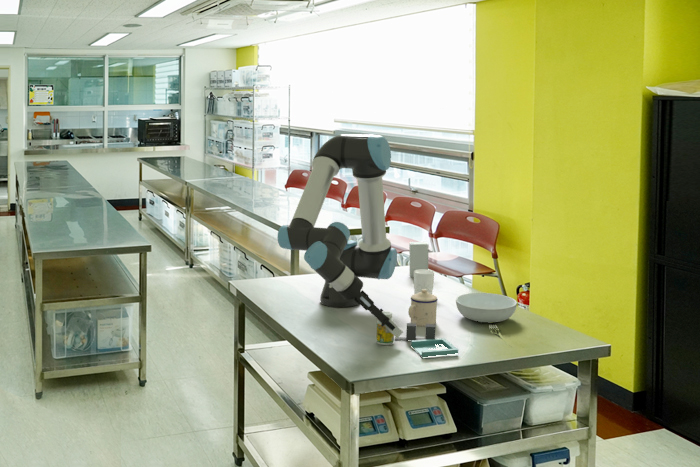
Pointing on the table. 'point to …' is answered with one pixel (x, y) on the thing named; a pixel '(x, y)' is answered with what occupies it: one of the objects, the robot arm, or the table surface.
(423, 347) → the open-sided tray holder
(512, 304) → the serving bowl
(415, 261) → the skincare box
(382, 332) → the supplement bottle
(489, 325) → the fork
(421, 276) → the white cup
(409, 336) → the clip posts
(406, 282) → the table surface
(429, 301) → the teacup with lid
